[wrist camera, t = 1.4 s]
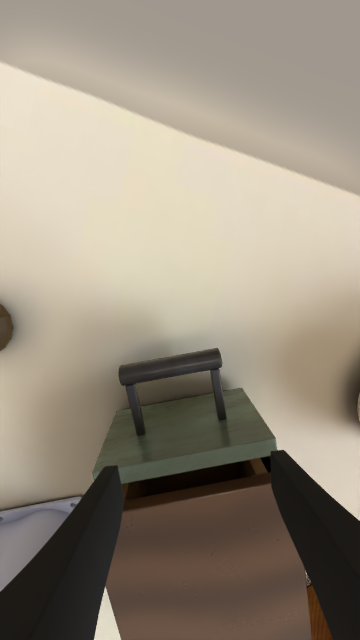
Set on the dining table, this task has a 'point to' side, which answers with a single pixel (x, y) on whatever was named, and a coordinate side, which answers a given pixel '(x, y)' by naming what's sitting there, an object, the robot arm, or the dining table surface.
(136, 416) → the drawer
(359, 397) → the teacup
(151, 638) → the cabinet
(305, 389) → the dining table surface
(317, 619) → the disposable coffee cup
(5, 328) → the kendama
